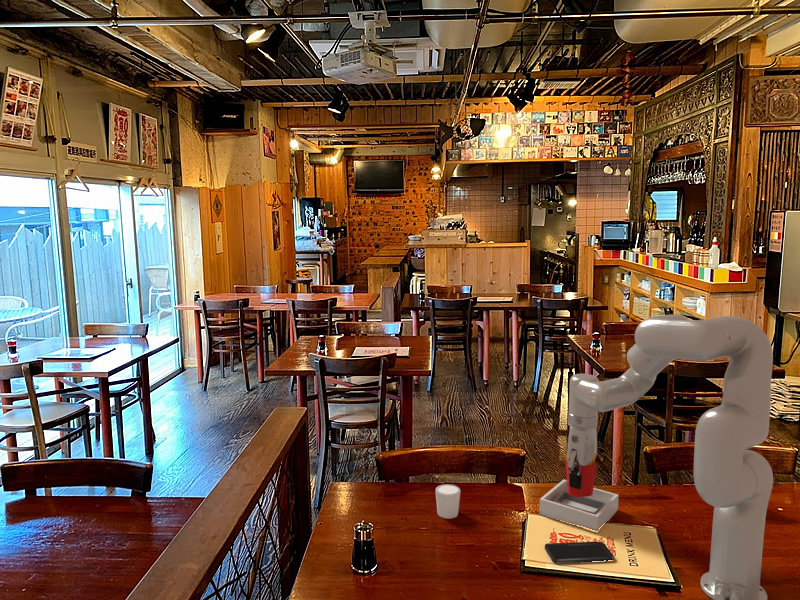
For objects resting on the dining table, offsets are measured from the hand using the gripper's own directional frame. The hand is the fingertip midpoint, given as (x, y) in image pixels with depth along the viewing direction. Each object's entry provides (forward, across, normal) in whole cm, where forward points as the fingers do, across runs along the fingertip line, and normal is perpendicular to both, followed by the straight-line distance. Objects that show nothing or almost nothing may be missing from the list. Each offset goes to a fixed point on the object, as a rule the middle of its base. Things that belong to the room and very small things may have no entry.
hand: (579, 482), depth 163 cm
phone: (+9, -20, -8) cm, 23 cm away
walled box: (+9, 0, 0) cm, 9 cm away
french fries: (+3, 0, 0) cm, 3 cm away
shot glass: (+9, -23, +28) cm, 37 cm away
